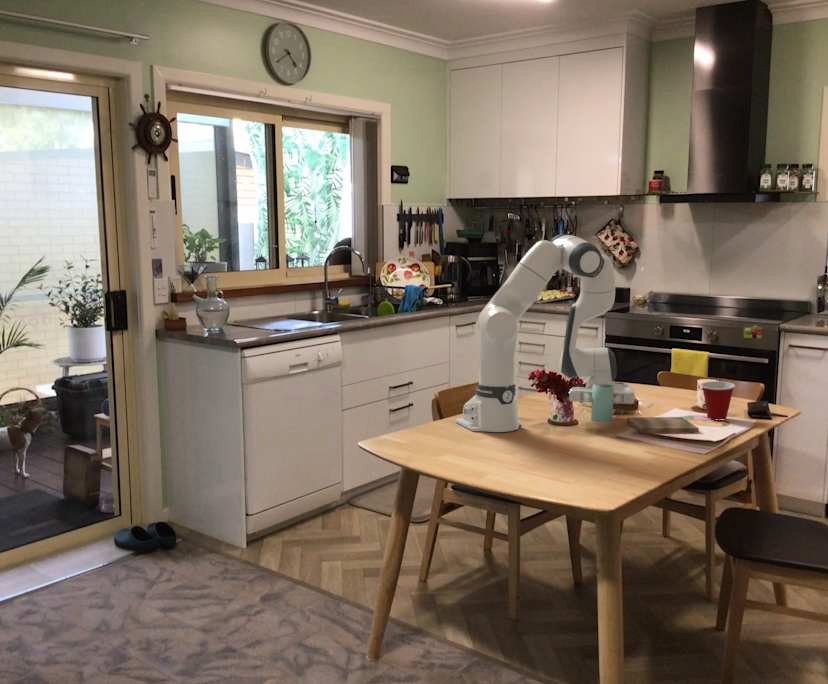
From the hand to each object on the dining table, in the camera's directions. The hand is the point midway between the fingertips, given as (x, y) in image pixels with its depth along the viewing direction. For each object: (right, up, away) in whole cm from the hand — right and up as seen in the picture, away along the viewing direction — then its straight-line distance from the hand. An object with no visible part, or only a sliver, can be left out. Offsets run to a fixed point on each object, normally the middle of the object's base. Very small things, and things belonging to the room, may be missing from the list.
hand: (602, 400), depth 250 cm
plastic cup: (+43, -8, +20) cm, 48 cm away
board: (+21, -9, +8) cm, 24 cm away
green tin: (0, -6, +2) cm, 7 cm away
